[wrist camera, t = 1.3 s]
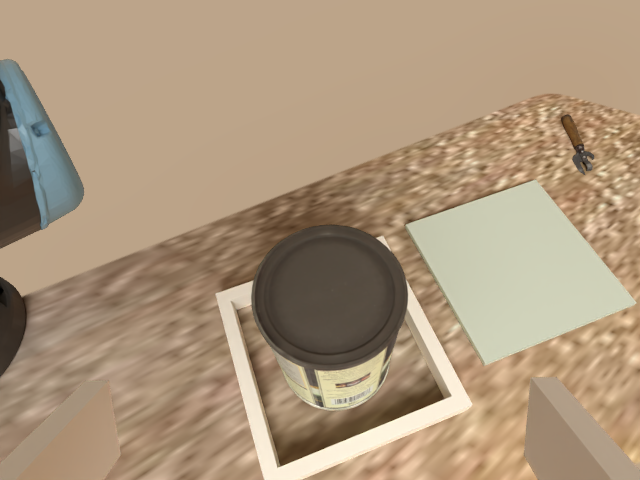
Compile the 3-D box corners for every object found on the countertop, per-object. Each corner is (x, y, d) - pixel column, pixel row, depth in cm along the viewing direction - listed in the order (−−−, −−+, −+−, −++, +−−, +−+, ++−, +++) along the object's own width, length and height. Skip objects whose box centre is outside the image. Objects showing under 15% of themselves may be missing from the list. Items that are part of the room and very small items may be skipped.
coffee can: (335, 282, 44) (330, 199, 32) (413, 354, 40) (441, 289, 28) (256, 352, 41) (219, 288, 29) (332, 438, 37) (325, 406, 25)
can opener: (559, 120, 55) (563, 113, 54) (578, 120, 55) (583, 113, 54) (575, 177, 50) (579, 170, 49) (596, 177, 50) (601, 171, 49)
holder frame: (271, 491, 35) (267, 490, 33) (221, 303, 44) (215, 293, 42) (465, 410, 37) (472, 405, 35) (381, 248, 46) (382, 235, 44)
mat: (483, 366, 39) (485, 364, 39) (405, 227, 47) (405, 224, 47) (633, 305, 41) (636, 303, 41) (533, 182, 50) (535, 179, 49)
